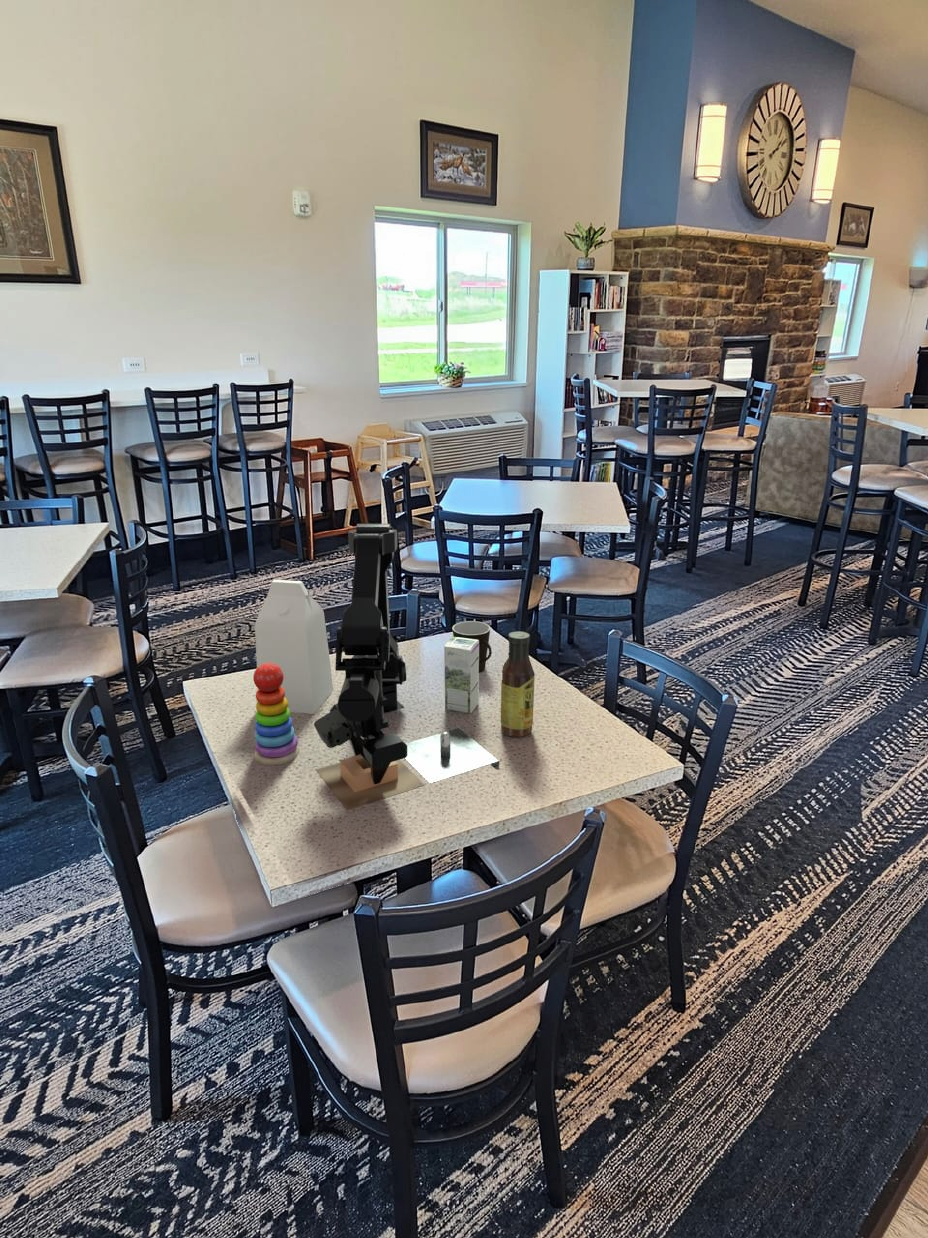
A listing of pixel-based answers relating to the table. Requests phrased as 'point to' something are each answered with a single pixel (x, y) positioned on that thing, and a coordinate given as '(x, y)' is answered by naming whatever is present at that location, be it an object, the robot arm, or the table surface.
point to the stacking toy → (273, 718)
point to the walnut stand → (369, 795)
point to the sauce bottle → (517, 687)
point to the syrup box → (461, 674)
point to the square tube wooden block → (363, 773)
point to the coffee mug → (478, 633)
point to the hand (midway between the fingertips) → (369, 774)
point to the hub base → (447, 764)
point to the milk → (295, 644)
